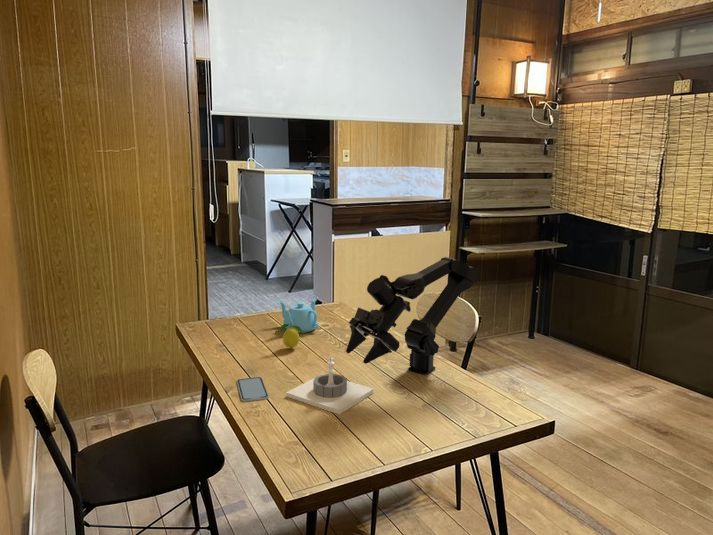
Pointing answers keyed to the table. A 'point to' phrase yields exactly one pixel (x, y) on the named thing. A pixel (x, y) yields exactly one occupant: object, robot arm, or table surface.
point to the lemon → (291, 335)
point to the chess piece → (330, 371)
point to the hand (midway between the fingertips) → (355, 357)
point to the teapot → (300, 316)
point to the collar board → (330, 402)
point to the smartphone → (252, 389)
